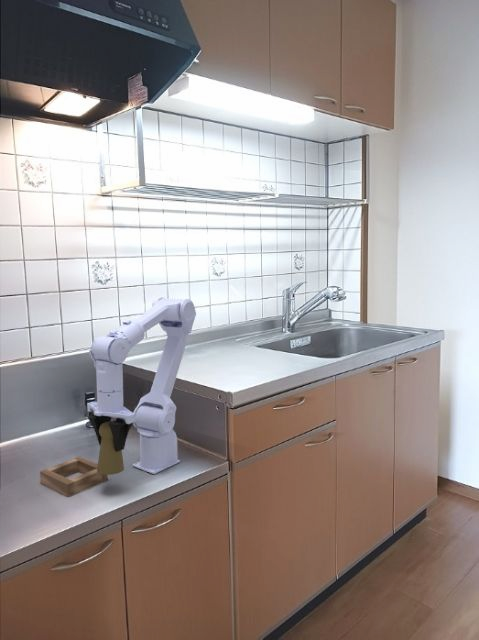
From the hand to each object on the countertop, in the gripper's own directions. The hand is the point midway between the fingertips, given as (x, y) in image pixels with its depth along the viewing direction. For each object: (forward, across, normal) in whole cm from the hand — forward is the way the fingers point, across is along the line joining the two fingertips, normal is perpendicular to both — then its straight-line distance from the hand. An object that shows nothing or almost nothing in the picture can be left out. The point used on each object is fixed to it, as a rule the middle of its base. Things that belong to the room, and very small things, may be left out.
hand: (111, 447), depth 114 cm
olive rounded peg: (+5, 0, -1) cm, 5 cm away
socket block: (+10, -10, -3) cm, 15 cm away
